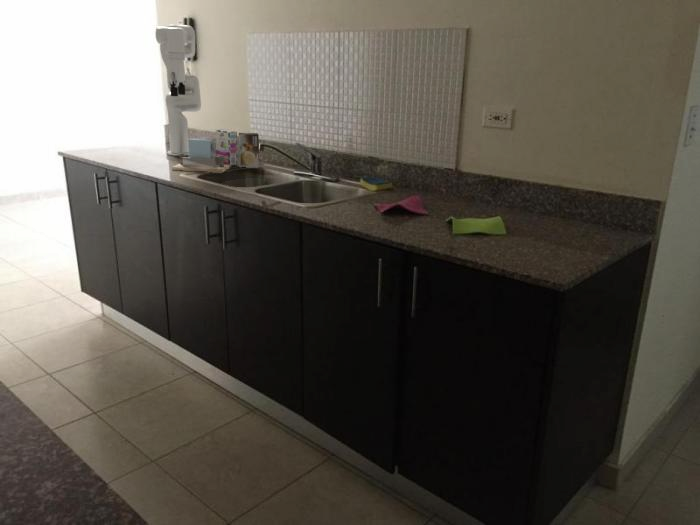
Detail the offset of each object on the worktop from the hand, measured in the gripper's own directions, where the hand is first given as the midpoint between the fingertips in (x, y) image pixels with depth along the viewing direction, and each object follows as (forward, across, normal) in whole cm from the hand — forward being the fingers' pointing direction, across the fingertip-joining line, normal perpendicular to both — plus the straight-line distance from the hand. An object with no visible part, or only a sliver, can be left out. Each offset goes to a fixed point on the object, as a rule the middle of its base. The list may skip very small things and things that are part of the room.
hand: (178, 95), depth 276 cm
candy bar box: (+32, -4, +21) cm, 39 cm away
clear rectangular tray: (+32, +12, +14) cm, 36 cm away
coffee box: (+32, -1, +33) cm, 46 cm away
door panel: (+30, +12, +14) cm, 35 cm away
